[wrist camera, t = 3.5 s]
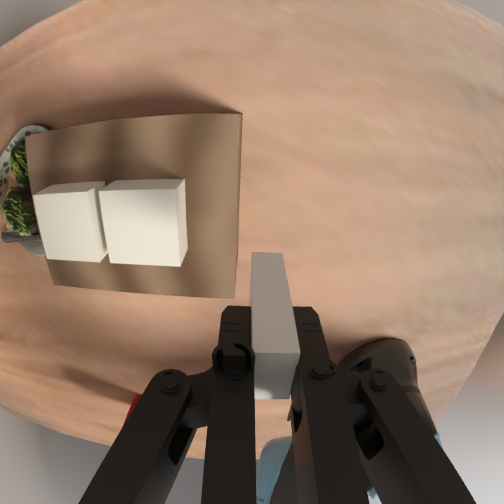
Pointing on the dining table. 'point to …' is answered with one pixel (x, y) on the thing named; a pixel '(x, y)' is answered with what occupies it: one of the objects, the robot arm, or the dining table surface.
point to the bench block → (154, 167)
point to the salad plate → (19, 193)
